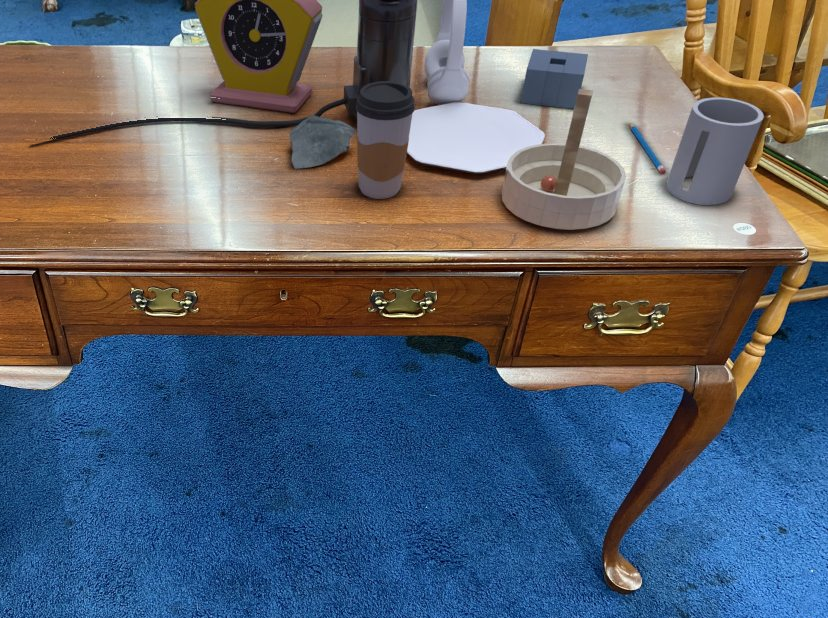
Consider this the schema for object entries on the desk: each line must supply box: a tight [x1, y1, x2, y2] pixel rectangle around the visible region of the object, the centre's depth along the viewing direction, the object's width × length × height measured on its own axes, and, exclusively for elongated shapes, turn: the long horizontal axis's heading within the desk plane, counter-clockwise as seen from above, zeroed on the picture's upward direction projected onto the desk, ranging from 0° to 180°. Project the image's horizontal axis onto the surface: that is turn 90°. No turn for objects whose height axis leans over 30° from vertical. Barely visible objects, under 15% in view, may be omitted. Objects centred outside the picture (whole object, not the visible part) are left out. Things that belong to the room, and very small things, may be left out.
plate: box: [407, 101, 546, 175], centre depth 132 cm, size 24×24×2 cm
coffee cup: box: [356, 81, 416, 200], centre depth 117 cm, size 8×8×15 cm
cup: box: [665, 96, 765, 206], centre depth 116 cm, size 9×9×12 cm
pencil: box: [629, 123, 667, 175], centre depth 130 cm, size 1×17×1 cm, turn 179°
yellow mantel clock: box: [194, 0, 324, 114], centre depth 140 cm, size 22×9×22 cm, turn 69°
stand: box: [520, 48, 589, 110], centre depth 143 cm, size 10×10×6 cm
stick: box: [554, 88, 594, 196], centre depth 112 cm, size 2×2×16 cm
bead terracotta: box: [541, 176, 557, 192], centre depth 119 cm, size 2×2×2 cm
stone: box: [288, 114, 356, 170], centre depth 130 cm, size 11×4×10 cm
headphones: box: [423, 0, 470, 106], centre depth 139 cm, size 7×18×20 cm, turn 176°
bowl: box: [501, 142, 627, 231], centre depth 116 cm, size 16×16×6 cm
